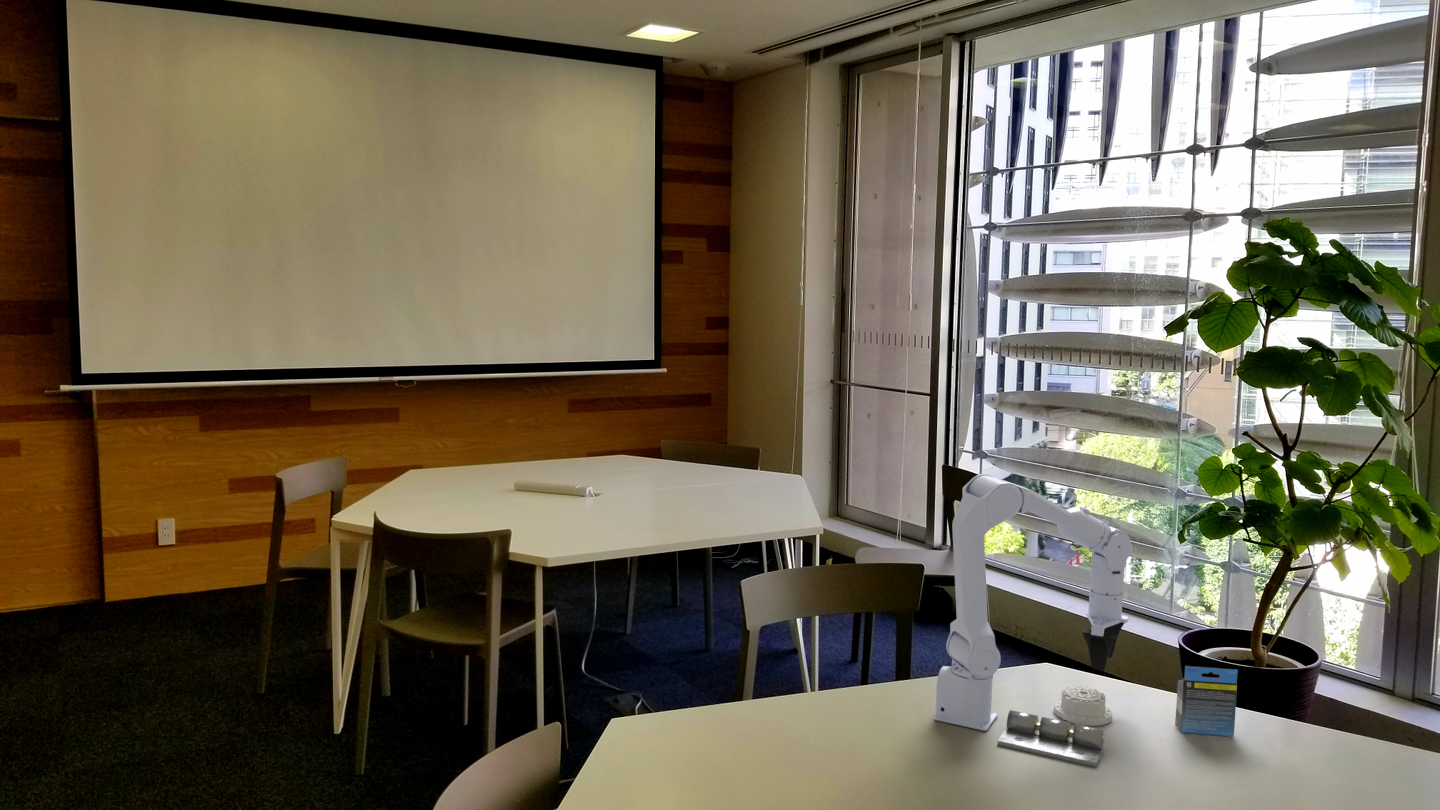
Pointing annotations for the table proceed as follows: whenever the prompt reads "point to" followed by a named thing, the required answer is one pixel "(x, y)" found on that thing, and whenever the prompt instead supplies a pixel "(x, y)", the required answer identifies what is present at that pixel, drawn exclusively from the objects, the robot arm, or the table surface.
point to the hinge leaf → (1053, 738)
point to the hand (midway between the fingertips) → (1102, 662)
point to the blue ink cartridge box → (1207, 701)
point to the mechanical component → (1083, 706)
